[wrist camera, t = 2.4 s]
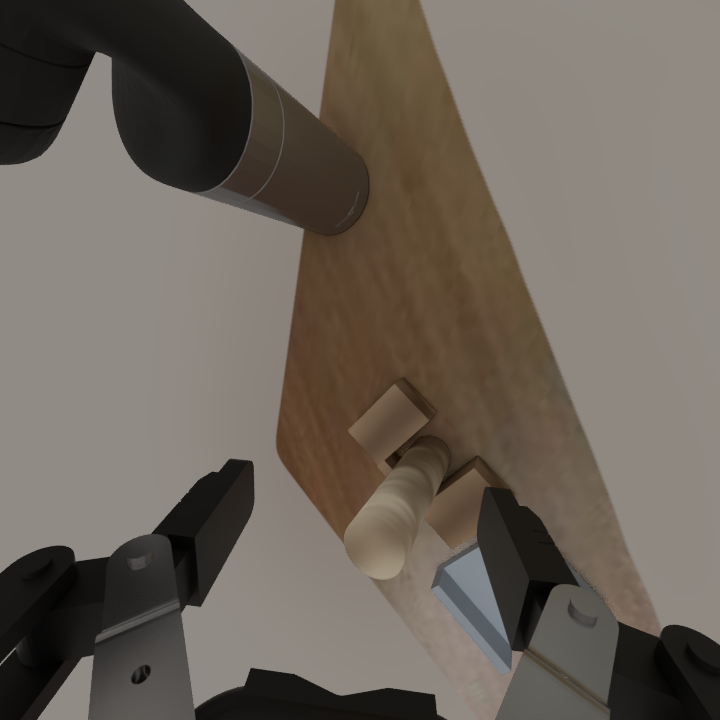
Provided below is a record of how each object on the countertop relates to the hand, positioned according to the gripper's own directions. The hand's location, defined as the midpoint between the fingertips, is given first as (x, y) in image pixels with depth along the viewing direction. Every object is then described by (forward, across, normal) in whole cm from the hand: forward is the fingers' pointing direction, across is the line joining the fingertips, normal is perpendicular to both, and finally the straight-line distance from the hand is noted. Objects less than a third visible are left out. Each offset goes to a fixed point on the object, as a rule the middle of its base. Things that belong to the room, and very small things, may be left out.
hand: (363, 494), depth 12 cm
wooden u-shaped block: (+24, -6, +12) cm, 27 cm away
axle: (+24, -6, +12) cm, 27 cm away
